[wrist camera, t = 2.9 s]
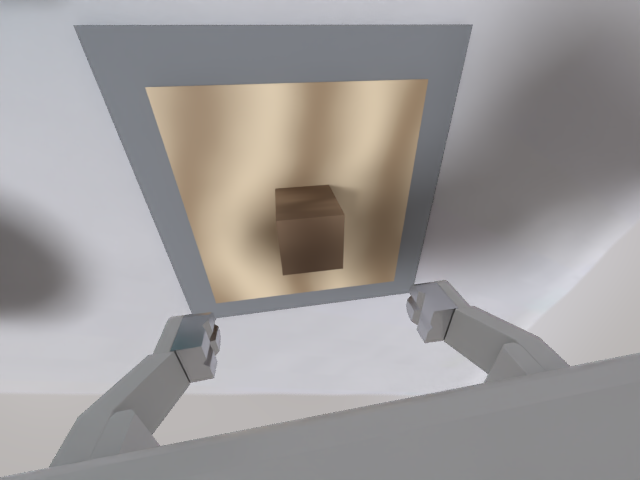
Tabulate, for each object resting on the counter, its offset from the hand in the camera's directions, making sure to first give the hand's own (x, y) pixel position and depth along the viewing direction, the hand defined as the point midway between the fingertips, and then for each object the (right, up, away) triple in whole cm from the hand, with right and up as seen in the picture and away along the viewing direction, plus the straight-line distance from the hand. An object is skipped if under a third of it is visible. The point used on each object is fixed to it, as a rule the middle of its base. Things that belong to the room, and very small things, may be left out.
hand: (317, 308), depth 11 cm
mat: (-1, +6, +8) cm, 10 cm away
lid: (-1, +5, +8) cm, 9 cm away
